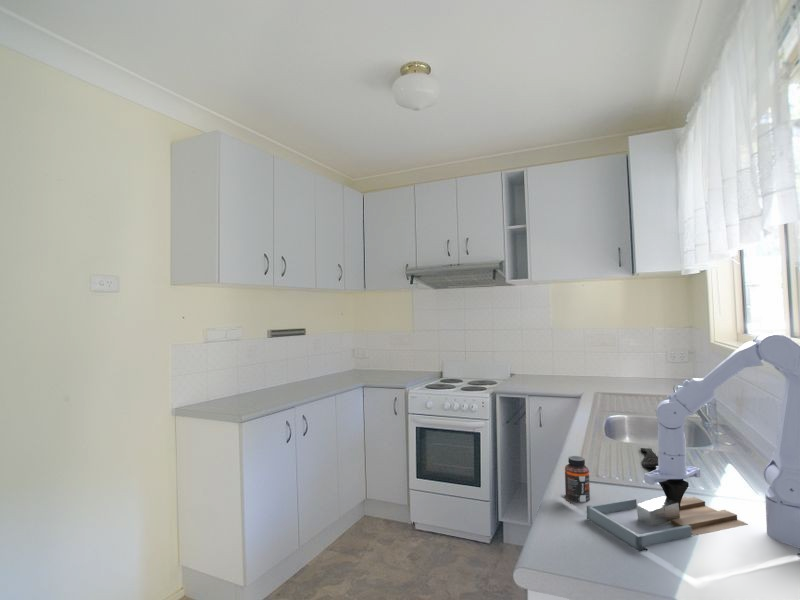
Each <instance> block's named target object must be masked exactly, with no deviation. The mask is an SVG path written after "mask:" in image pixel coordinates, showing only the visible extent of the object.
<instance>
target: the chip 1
mask: <svg viewBox="0 0 800 600" xmlns="http://www.w3.org/2000/svg"><path fill="white" fill-rule="evenodd" d="M636 507H637V508H636V512H637V519H638V520H640V521H641V522H644V523H645V524H646V525H649V526H650V527H657V526H663V525H667V524H666V518H665V511H664V507H663V506H661V505H659V504H657V503H655V502H653V501H651V499H648V500H645V501H642V502H639V503H637V504H636Z"/></svg>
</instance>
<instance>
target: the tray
mask: <svg viewBox="0 0 800 600" xmlns="http://www.w3.org/2000/svg"><path fill="white" fill-rule="evenodd" d="M636 504H638V501H637V499H636V498H635V497H632V498H627V499H620V500H614V501H609V502H603V503H597V504H596V503H595V504H591V505H586V519H587V520H588V519H589V520H588V521H590V522H591V521H592V523H593V524H594V525H596V526H598V527H600V528H601V529H602V530H603V531H606V532H607V533H609V534H611V535H612V536H613V537H615V538H617V539H618V540H619V541H621V542H623V543H625V544H626V545H628V546H629V547H631V548H633V549H634V550H636V551H637V552H639V553H641V552H644V551H648V550H649V549H648V548H647V546H651V545H657V544H659V543H665V542H670V541H674V540H678V539H679V540H680V539H684V538H685V539H686V538H690V537H692V536H693V535H692V530H691V526H689V525H685V526H680V527H675V526H674V527H670V528H665V529H660V530H656V531H650V532H646V533H645V532H644V533H641V534H640V533H638V532H635V531H633V530H632V529H630V528H628V527H626V525H623V524H622V523H620V522H618V521H616V520H614V519H613V518H611V517H610V516H608V515H606V514H610V513H615V512H621V511H626V510H631V509H637V507H636Z"/></svg>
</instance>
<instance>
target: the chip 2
mask: <svg viewBox="0 0 800 600" xmlns="http://www.w3.org/2000/svg"><path fill="white" fill-rule="evenodd" d="M650 500H651V501H653V502H655V503H657V504H659V505H661V506H663V507H664V511H665V518H666V524H665V525H668V524H669V523H671V520H674V519H679V518H680V513H679V503H678V502H676V501H674V500H672V499H669V498H667V497H666V495H665V496H664V495H662V496H659V497H655V498H652V499H650Z"/></svg>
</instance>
